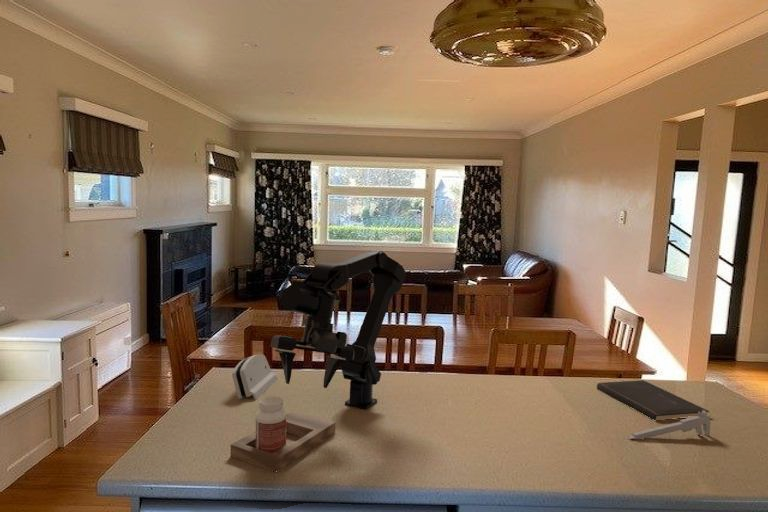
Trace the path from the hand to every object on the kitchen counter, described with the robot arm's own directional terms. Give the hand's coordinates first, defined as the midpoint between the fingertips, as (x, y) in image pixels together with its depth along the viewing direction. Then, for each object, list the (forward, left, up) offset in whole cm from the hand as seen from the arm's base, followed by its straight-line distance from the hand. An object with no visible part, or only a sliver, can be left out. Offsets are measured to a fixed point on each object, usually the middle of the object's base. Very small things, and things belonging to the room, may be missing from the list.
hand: (306, 385), depth 111 cm
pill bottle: (+12, 0, -11) cm, 16 cm away
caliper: (-42, +73, -11) cm, 85 cm away
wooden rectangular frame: (+7, 0, -11) cm, 13 cm away
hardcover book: (-64, +68, -11) cm, 94 cm away
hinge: (-14, -29, -11) cm, 34 cm away
